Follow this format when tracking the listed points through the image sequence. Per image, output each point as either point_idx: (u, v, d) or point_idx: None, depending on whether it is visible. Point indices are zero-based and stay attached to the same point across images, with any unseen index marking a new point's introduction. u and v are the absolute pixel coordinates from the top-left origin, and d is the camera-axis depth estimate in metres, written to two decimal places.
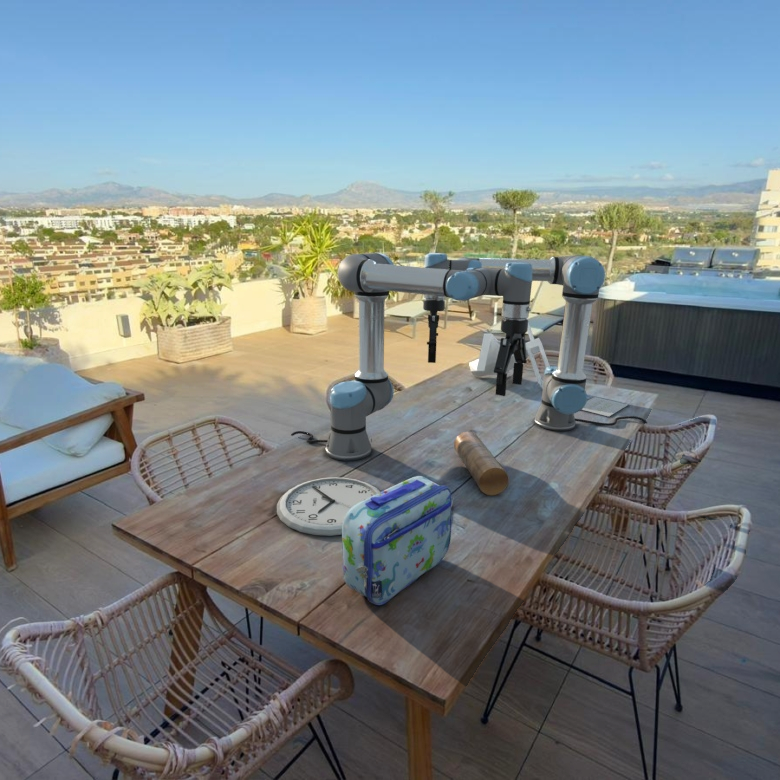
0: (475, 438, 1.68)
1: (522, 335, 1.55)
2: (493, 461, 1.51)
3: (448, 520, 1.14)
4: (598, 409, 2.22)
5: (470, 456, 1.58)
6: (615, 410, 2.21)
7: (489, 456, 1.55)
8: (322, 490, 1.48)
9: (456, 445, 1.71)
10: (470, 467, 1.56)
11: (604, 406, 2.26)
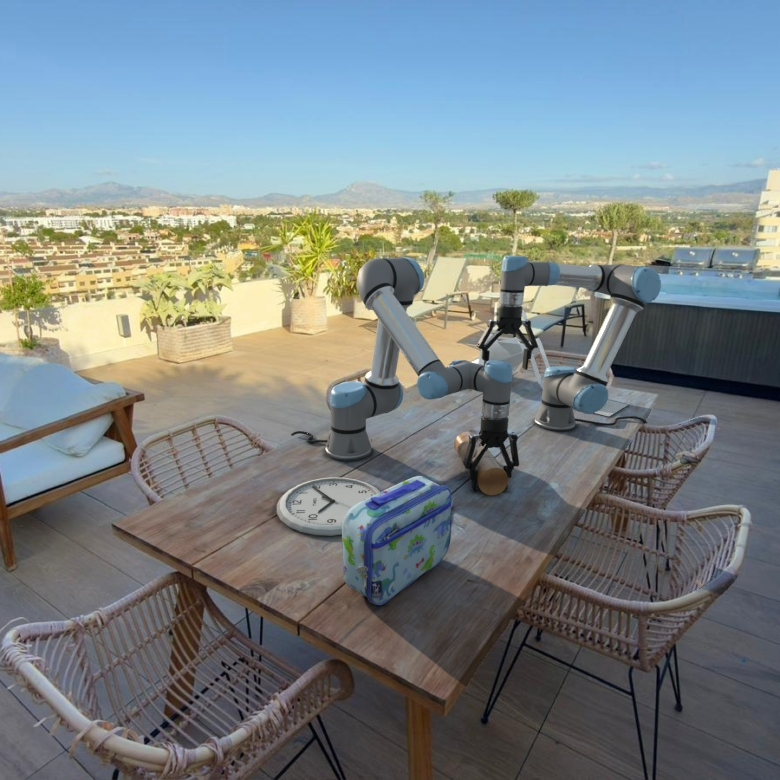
0: None
1: (513, 437, 1.48)
2: (493, 461, 1.51)
3: (448, 520, 1.14)
4: None
5: None
6: (615, 410, 2.21)
7: (489, 456, 1.55)
8: (322, 490, 1.48)
9: (456, 445, 1.71)
10: None
11: (604, 406, 2.26)
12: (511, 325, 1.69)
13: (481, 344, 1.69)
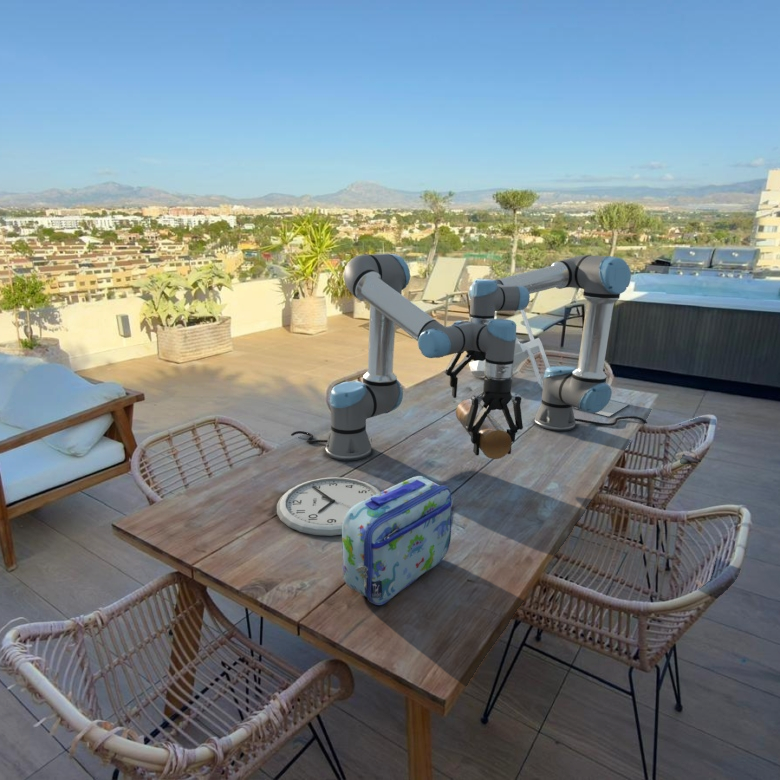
0: None
1: (516, 399, 1.44)
2: (496, 424, 1.48)
3: (448, 520, 1.14)
4: None
5: None
6: (615, 410, 2.21)
7: (492, 420, 1.51)
8: (322, 490, 1.48)
9: (458, 412, 1.67)
10: None
11: None
12: None
13: (449, 371, 1.62)
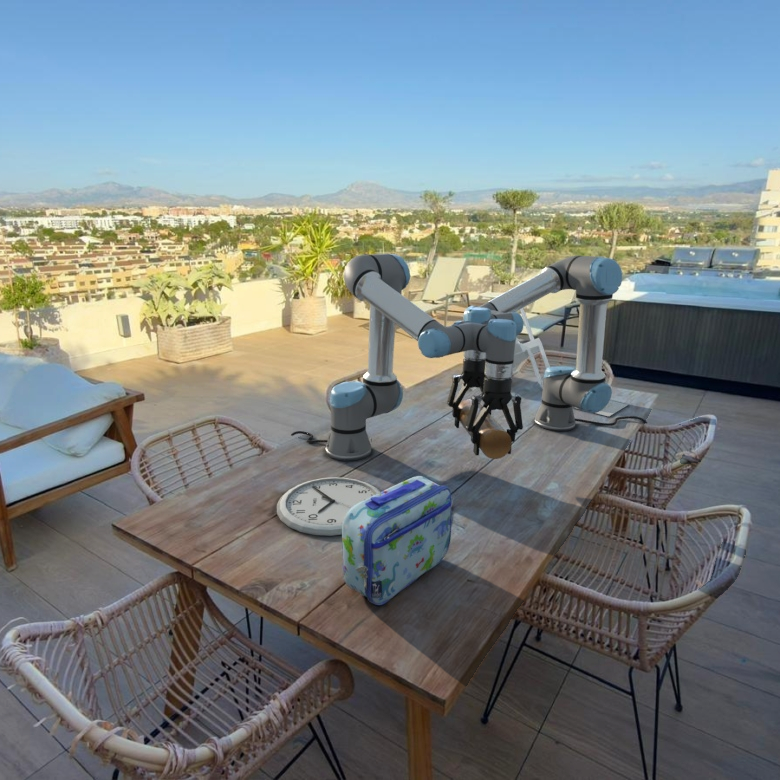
0: None
1: (516, 399, 1.44)
2: (496, 424, 1.48)
3: (448, 520, 1.14)
4: None
5: None
6: (615, 410, 2.21)
7: (492, 420, 1.51)
8: (322, 490, 1.48)
9: None
10: None
11: None
12: (476, 378, 1.63)
13: (450, 402, 1.64)
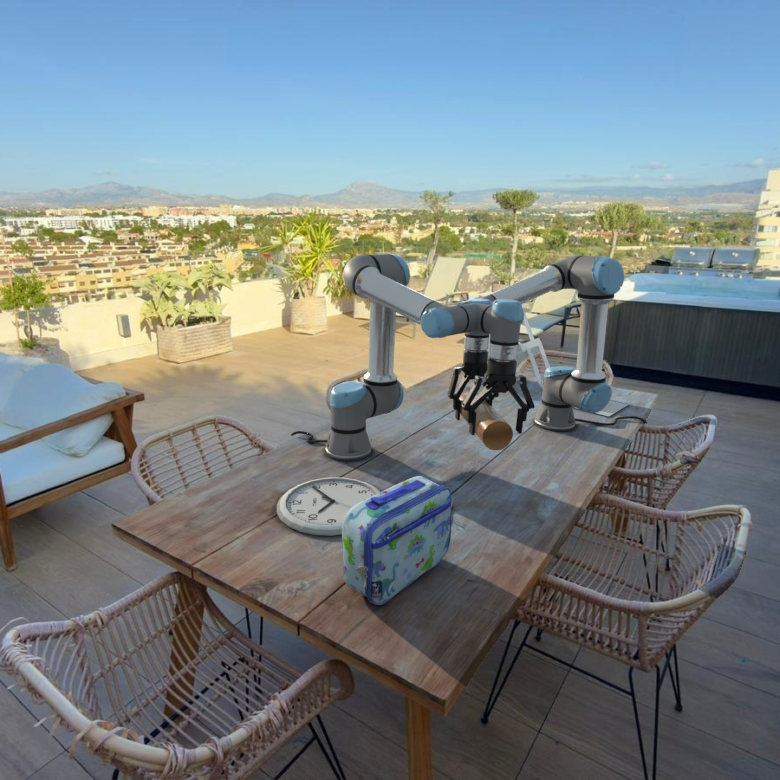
0: None
1: (521, 379, 1.41)
2: (497, 416, 1.47)
3: (448, 520, 1.14)
4: None
5: None
6: (615, 410, 2.21)
7: (493, 411, 1.50)
8: (322, 490, 1.48)
9: None
10: None
11: None
12: (477, 369, 1.62)
13: (451, 394, 1.63)
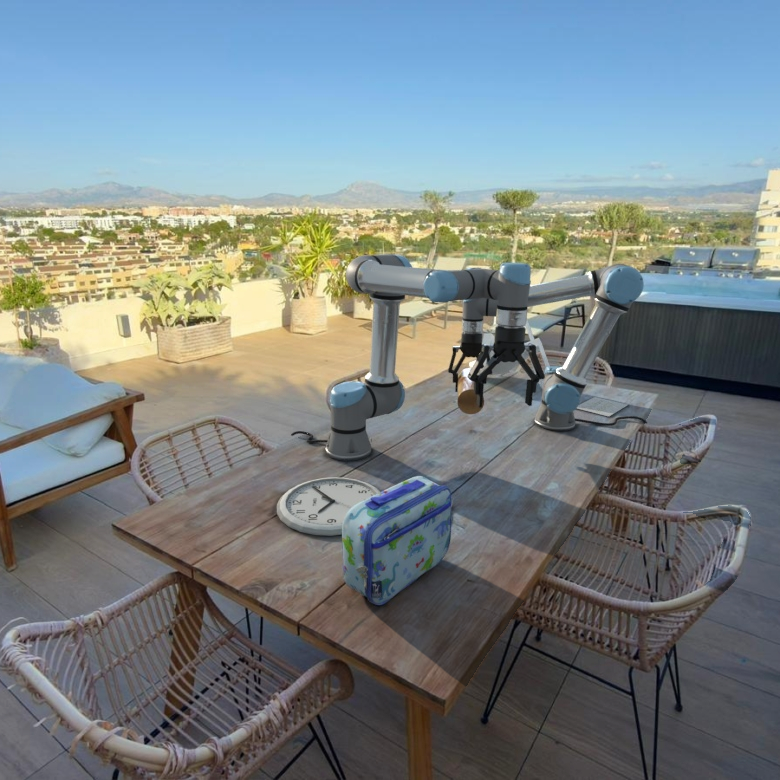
0: None
1: (530, 348, 1.34)
2: None
3: (448, 520, 1.14)
4: (598, 409, 2.22)
5: (460, 383, 1.83)
6: (615, 410, 2.21)
7: None
8: (322, 490, 1.48)
9: (458, 378, 1.95)
10: None
11: (604, 406, 2.26)
12: (472, 349, 1.90)
13: (449, 368, 1.93)
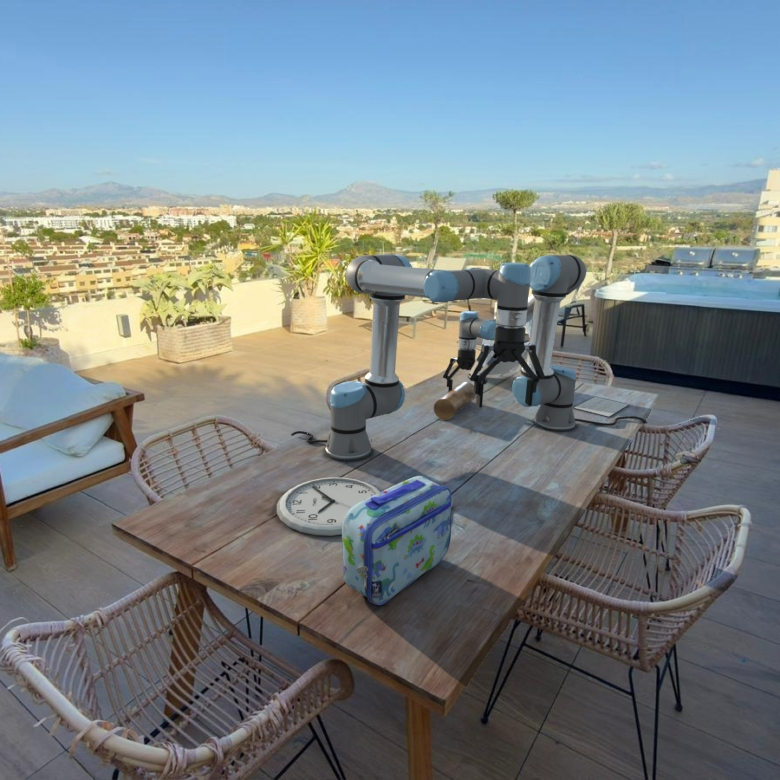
0: (465, 385, 2.23)
1: (530, 348, 1.34)
2: (450, 396, 2.08)
3: (448, 520, 1.14)
4: (598, 409, 2.22)
5: None
6: (615, 410, 2.21)
7: (453, 394, 2.11)
8: (322, 490, 1.48)
9: None
10: None
11: (604, 406, 2.26)
12: (466, 363, 2.22)
13: (444, 375, 2.28)
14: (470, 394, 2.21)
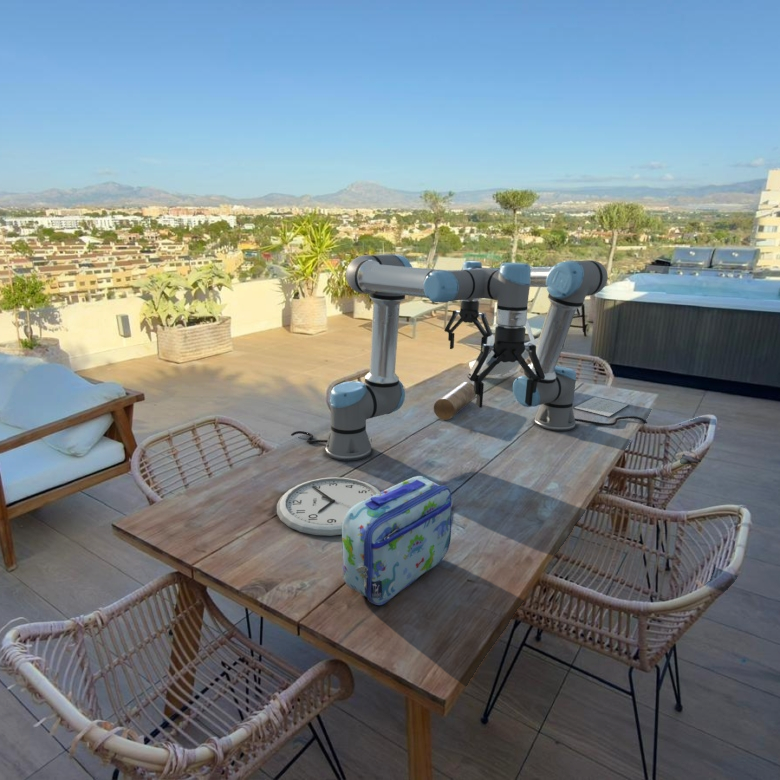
0: (465, 385, 2.23)
1: (530, 348, 1.34)
2: (450, 396, 2.08)
3: (448, 520, 1.14)
4: (598, 409, 2.22)
5: None
6: (615, 410, 2.21)
7: (453, 394, 2.11)
8: (322, 490, 1.48)
9: None
10: None
11: (604, 406, 2.26)
12: (468, 315, 2.16)
13: (446, 328, 2.22)
14: (470, 394, 2.21)
